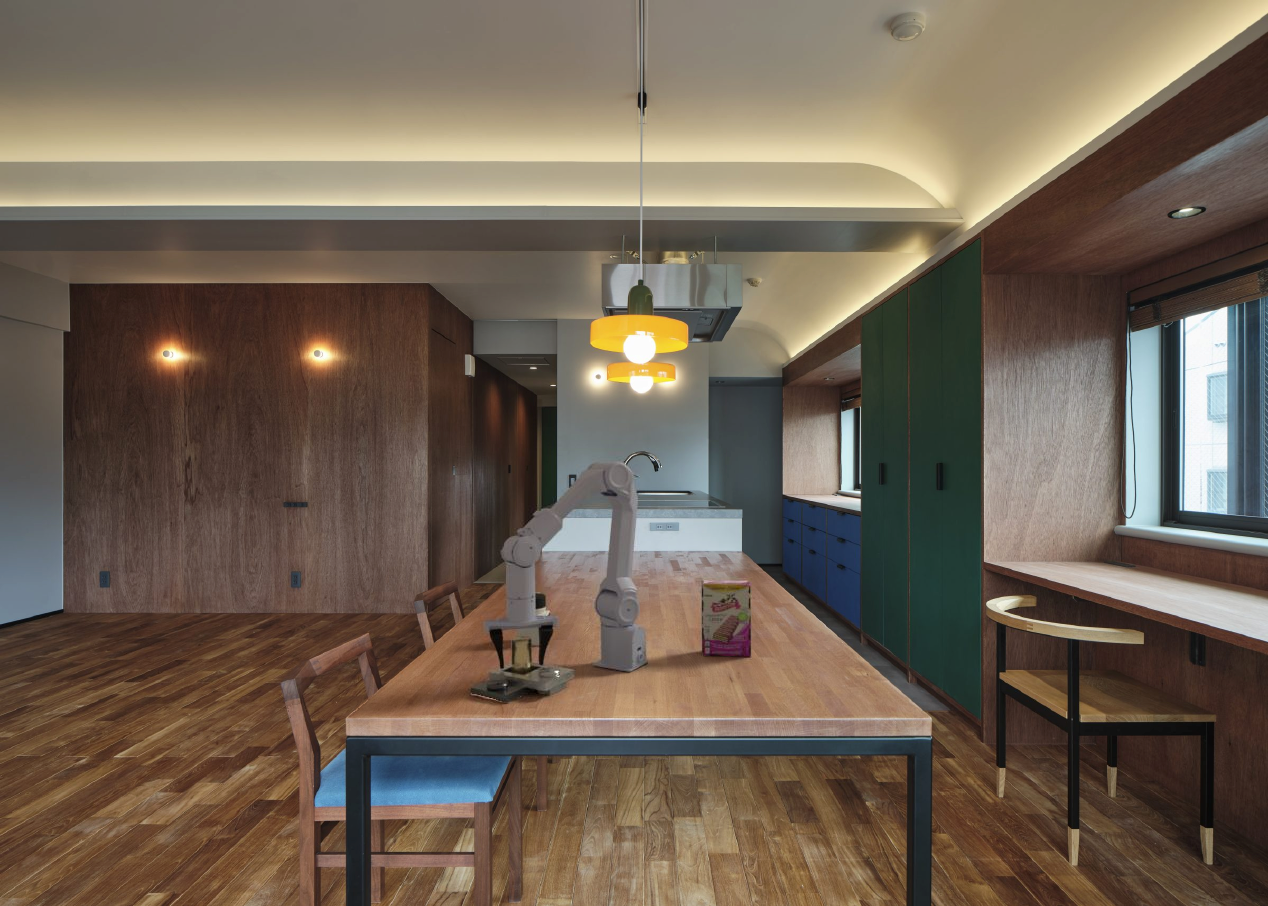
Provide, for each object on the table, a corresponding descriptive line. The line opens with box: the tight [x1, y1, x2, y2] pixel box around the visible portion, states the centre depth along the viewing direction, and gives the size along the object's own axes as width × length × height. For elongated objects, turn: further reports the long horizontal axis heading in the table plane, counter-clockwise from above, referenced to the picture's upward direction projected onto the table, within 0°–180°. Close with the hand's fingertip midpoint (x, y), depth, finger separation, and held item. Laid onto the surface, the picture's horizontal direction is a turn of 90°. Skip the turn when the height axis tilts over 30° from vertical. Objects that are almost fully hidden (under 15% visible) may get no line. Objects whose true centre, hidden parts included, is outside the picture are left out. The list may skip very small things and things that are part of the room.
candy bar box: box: [701, 579, 752, 658], centre depth 146 cm, size 11×5×16 cm, turn 84°
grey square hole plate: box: [488, 661, 575, 696], centre depth 126 cm, size 14×9×4 cm, turn 60°
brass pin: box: [510, 636, 533, 675], centre depth 128 cm, size 4×4×9 cm
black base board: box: [470, 679, 536, 704], centre depth 125 cm, size 14×9×2 cm, turn 150°
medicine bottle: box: [516, 592, 551, 647], centre depth 159 cm, size 7×7×12 cm
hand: (521, 665), depth 127 cm, fingers open, 7 cm apart
